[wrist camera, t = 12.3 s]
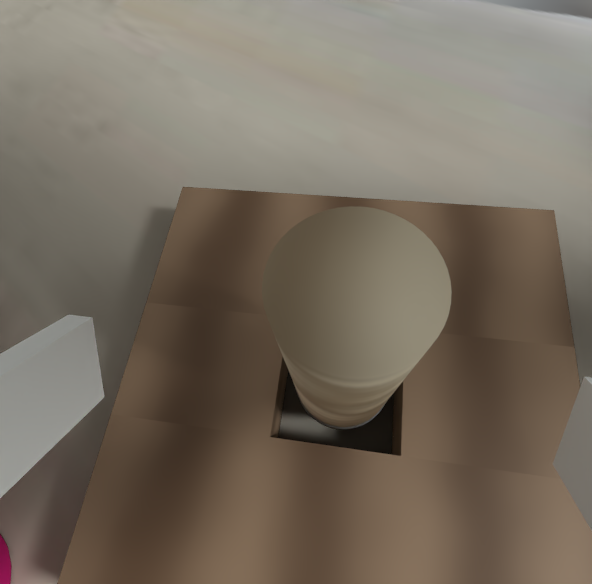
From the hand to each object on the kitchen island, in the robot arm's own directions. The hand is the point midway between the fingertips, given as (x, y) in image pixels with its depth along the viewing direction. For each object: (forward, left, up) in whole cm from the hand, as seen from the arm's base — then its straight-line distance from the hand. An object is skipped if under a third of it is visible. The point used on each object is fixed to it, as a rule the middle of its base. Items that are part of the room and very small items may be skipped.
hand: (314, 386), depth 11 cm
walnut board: (-1, -2, -11) cm, 12 cm away
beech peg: (-1, -2, -11) cm, 12 cm away
